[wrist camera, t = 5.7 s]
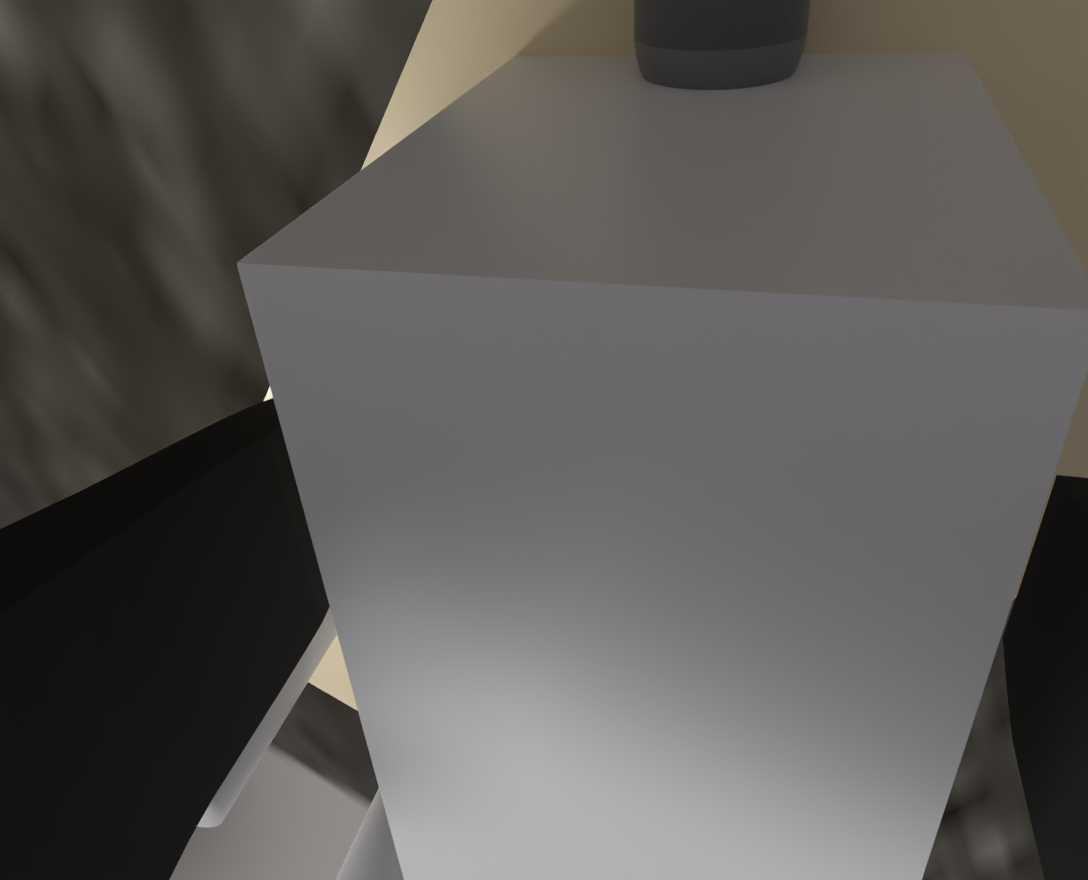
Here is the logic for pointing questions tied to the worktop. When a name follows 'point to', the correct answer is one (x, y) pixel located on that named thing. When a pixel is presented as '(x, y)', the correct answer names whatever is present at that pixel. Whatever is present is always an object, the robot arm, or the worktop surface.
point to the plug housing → (677, 448)
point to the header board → (833, 27)
